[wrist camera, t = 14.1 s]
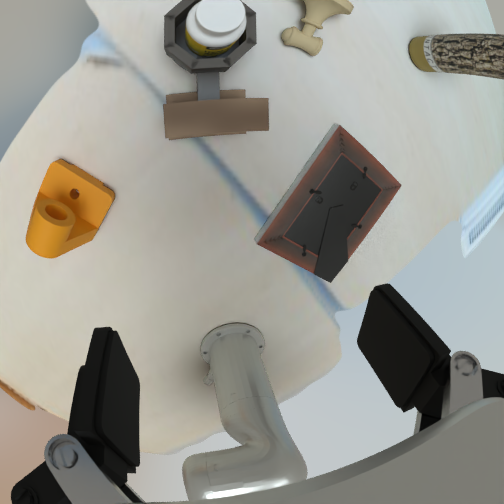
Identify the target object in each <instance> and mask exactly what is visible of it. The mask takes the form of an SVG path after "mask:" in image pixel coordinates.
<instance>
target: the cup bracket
mask: <svg viewBox="0 0 504 504" xmlns="http://www.w3.org/2000/svg"><path fill="white" fill-rule="evenodd" d="M200 1H202V0H182V1H181V2H180V3H178V4H177V5H176V6H175V7H174V8H173V9H171V10H170V11H169V12H168V13H167V14H166V15H165V16H164V48H165V51H166V54H167V55H168V56H169V57H171V58H172V59H173V60H174V61H175V62H176V63H177V64H178V65H179V66H180V67H182V68H183V69H185V70H187V71H189V72H190V73H191V74H192V73H197V92H190V93H180V94H171V95H166V102H167V104H163V109H164V124H165V137H166V138H169V140H174V139H183V138H192V137H203V136H215V135H229V134H246V131H269V108H268V98H245V90H220V87H219V72H225V71H227V70H228V69H229V68H230V67H231V66H232V65H233V64H234V63H235V62H236V61H237V60H238V59H239V58H241V57H242V56H243V55H244V54H245V53H246V52H247V51H248V50H250V49H251V48H252V47H253V46H254V45H256V12H254V11H253V10H252V9H251V8H249V7H248V6H247V5H246V4H244V3H243V2H242V1H241V0H240V1H241V2H242V3H243V5H244V8H245V15H246V28H245V30H244V32H243V34H242V35H241V37H240V38H239V39H238V40H237V41H236V42H235V43H234V44H233V45H232V46H231V48H230V49H229V50H228V51H227V52H225V53H224V54H222V55H220V56H217V57H213V58H204V57H200V56H198V55H196V54H194V53H193V52H191V51H190V49H189V48H188V47H187V45H186V41H185V30H186V19H187V16H188V13H189V11H190V10H191V9H192V7H193V6H194V5H196V4H197V3H199V2H200Z"/></svg>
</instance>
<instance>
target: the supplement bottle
mask: <svg viewBox="0 0 504 504" xmlns="http://www.w3.org/2000/svg"><path fill="white" fill-rule="evenodd" d="M245 28H246V15H245V8H244V5H243V3H242V2H241V1H240V0H202V1H200V2H199V3H197V4H196V5H194V6H193V7H192V9H191V10H190V11H189V13H188V16H187V19H186V30H185V41H186V45H187V47H188V48H189V49H190V51H191V52H193V53H194V54H196V55H198V56H200V57H204V58H213V57H217V56H220V55H222V54H224V53H225V52H227V51H228V50H229V49H230V48H231V46H232V45H233V44H234V43H235V42H236V41H237V40H238V39H239V38H240V37H241V35H242V34H243V32H244V30H245Z"/></svg>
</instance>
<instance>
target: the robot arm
mask: <svg viewBox="0 0 504 504" xmlns="http://www.w3.org/2000/svg"><path fill="white" fill-rule="evenodd" d="M357 344H358V347H359V348H360V350H361V352H362V353H363V355H364V356H365V358H366V359H367V361H368V362H369V364H370V365H371V367H372V368H373V370H374V372H375V373H376V375H377V376H378V378H379V379H380V381H381V383H382V384H383V386H384V387H385V389H386V390H387V392H388V393H389V395H390V397H391V398H392V400H393V401H394V403H395V405H396V406H397V407H399V408H401V409H402V411H403V412H406V411H408V410H410V409H412V408H414V407H416V408H417V410H418V412H417V418H416V424H415V430H414V435H413V436H411V437H409V438H408V439H406V440H404V441H402V442H400V443H398V444H396V445H394V446H392V447H390V448H388V449H385V450H383V451H381V452H379V453H377V454H375V455H372V456H370V457H368V458H365V459H363V460H360V461H358V462H355V463H353V464H350V465H348V466H345V467H343V468H340V469H337V470H334V471H332V472H329V473H326V474H323V475H320V476H316V477H314V478H310V479H307V480H306V478H307V467H306V464H305V461H304V459H303V457H302V455H301V453H300V451H299V450H298V448H297V446H296V445H295V443H294V441H293V440H292V438H291V436H290V434H289V432H288V430H287V428H286V425H285V423H284V421H283V418H282V416H281V413H280V410H279V408H278V404H277V402H276V399H275V396H274V393H273V390H272V387H271V384H270V381H269V378H268V376H267V373H266V370H265V367H264V364H263V361H262V358H261V354H262V352H263V350H264V346H265V342H264V338H263V336H262V334H261V332H260V331H259V330H258V329H256V328H255V327H253V326H250V325H247V324H237V323H236V324H228V325H224V326H221V327H218V328H216V329H214V330H213V331H211V332H210V333H209V334H207V336H206V337H205V338H204V340H203V341H202V344H201V354H202V357H203V359H204V360H205V362H206V363H208V364H209V365H210V370H209V374H207V376H206V377H205V378H204V380H203V381H204V383H205V384H206V385H211V384H212V383H213V382H214V384H215V389H216V395H217V400H218V406H219V411H220V417H221V422H222V425H223V427H224V429H225V430H226V432H227V433H228V434H229V435H230V436H231V437H232V438H233V439H235V440H236V441H237V442H239V443H240V444H242V446H239V447H235V448H231V449H225V450H219V451H213V452H205V453H199V454H194V455H191V456H189V457H188V458H187V459H186V460H185V461H184V463H183V467H182V474H183V481H184V485H185V489H186V493H187V496H188V499H189V501H179V502H151V503H146V502H145V501H144V500H143V499H142V498H141V497H140V496H139V495H137V493H136V492H135V491H134V490H133V489H132V488H131V487H130V486H129V485H128V484H127V483H126V482H127V473H136V467H138V466H139V465H140V448H139V400H140V382H139V378H138V376H137V374H136V372H135V370H134V368H133V366H132V363H131V361H130V359H129V357H128V355H127V353H126V350H125V348H124V346H123V344H122V341H121V339H120V337H119V334H118V332H117V331H113V330H112V328H111V327H102V328H95V329H94V331H93V335H92V339H91V342H90V346H89V351H88V355H87V359H86V363H85V365H83V366H81V367H80V369H79V372H78V377H77V381H76V386H75V391H74V396H73V402H72V407H71V413H70V419H69V426H68V433H67V434H60V435H56V436H54V437H52V438H51V439H50V441H48V443H47V445H46V447H45V451H44V456H45V461H44V462H43V463H42V464H41V465H39V466H38V467H37V468H36V469H34V470H33V471H32V472H31V473H29V474H28V475H27V476H25V477H24V478H23V479H22V480H20V481H19V482H18V483H16V485H15V486H14V487H13V489H12V491H11V500H12V504H504V374H501V373H497V372H493V371H489V370H485V369H481V366H480V363H479V361H478V359H477V358H476V357H475V356H474V355H472V354H471V353H469V352H466V351H458V352H456V353H454V354H453V355H452V357H451V356H450V355H449V354H450V352H451V350H450V349H449V348H448V347H447V346H446V344H445V343H444V342H443V341H442V340H441V339H440V338H439V337H438V335H437V334H436V333H435V332H434V331H433V330H432V329H431V327H430V326H429V325H428V324H427V323H426V322H425V321H424V320H423V318H422V317H421V316H420V315H419V314H418V313H417V312H416V311H415V310H414V309H413V308H412V307H411V305H410V304H409V303H408V302H407V301H406V300H405V299H404V298H403V297H402V296H401V295H400V294H399V293H398V292H397V291H396V290H395V289H394V288H393V287H392V286H391V285H390V284H388V283H387V284H383V285H378V286H375V287H374V289H373V291H371V293H370V296H369V300H368V304H367V308H366V312H365V315H364V318H363V322H362V325H361V328H360V332H359V335H358V338H357Z"/></svg>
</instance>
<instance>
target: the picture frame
mask: <svg viewBox="0 0 504 504" xmlns="http://www.w3.org/2000/svg"><path fill="white" fill-rule="evenodd" d="M400 187H401V184H400V183H399V182H398V181H397V180H396V179H395V178H394V177H393V176H392V175H391V174H390V173H389V172H388V171H387V169H386V168H385V167H384V166H383V165H382V164H381V163H380V162H379V161H378V160H377V159H376V158H375V157H374V156H373V155H372V154H371V153H370V152H368V151H367V150H366V149H365V148H364V147H363V146H362V145H361V144H360V143H359V142H358V141H357V140H356V139H355V138H354V137H353V136H351V135H350V134H349V133H348V132H347V131H346V130H345V129H344V128H343V127H341V126H340V125H337V124H334V125H333V126H332V127H331V129H330V130H329V132H328V133H327V135H326V136H325V137H324V139H323V140H322V142H321V143H320V145H319V146H318V148H317V149H316V150H315V152H314V153H313V155H312V156H311V158H310V159H309V160H308V162H307V163H306V165H305V166H304V168H303V169H302V171H301V172H300V173H299V175H298V176H297V178H296V179H295V181H294V182H293V184H292V185H291V186H290V188H289V189H288V191H287V192H286V194H285V195H284V197H283V198H282V199H281V201H280V202H279V204H278V205H277V207H276V208H275V210H274V211H273V212H272V214H271V215H270V217H269V218H268V220H267V221H266V223H265V224H264V226H263V227H262V228H261V230H260V231H259V233H258V234H257V236H256V237H255V241H256V243H257V244H258V245H260V246H262V247H264V248H266V249H267V250H269V251H271V252H273V253H275V254H277V255H279V256H281V257H283V258H285V259H287V260H289V261H290V262H292V263H294V264H296V265H298V266H300V267H302V268H304V269H306V270H308V271H310V272H312V273H313V274H315V275H317V276H319V277H320V278H322V279H324V280H326V281H328V282H330V283H331V282H332V280H333V279H334V278H335V277H336V275H337V274H338V273H339V272H340V270H341V269H342V268H343V267H344V265H345V264H346V263H347V262H348V259H349V258H350V256H351V255H352V254H353V253H354V251H355V250H356V249H357V247H358V246H359V245H360V243H361V242H362V241H363V239H364V238H365V237H366V235H367V234H368V233H369V231H370V230H371V228H372V227H373V226H374V224H375V223H376V222H377V220H378V219H379V217H380V216H381V215H382V213H383V212H384V210H385V209H386V207H387V206H388V205H389V203H390V202H391V200H392V199H393V197H394V196H395V194H396V193H397V191H398V190H399V189H400Z"/></svg>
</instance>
